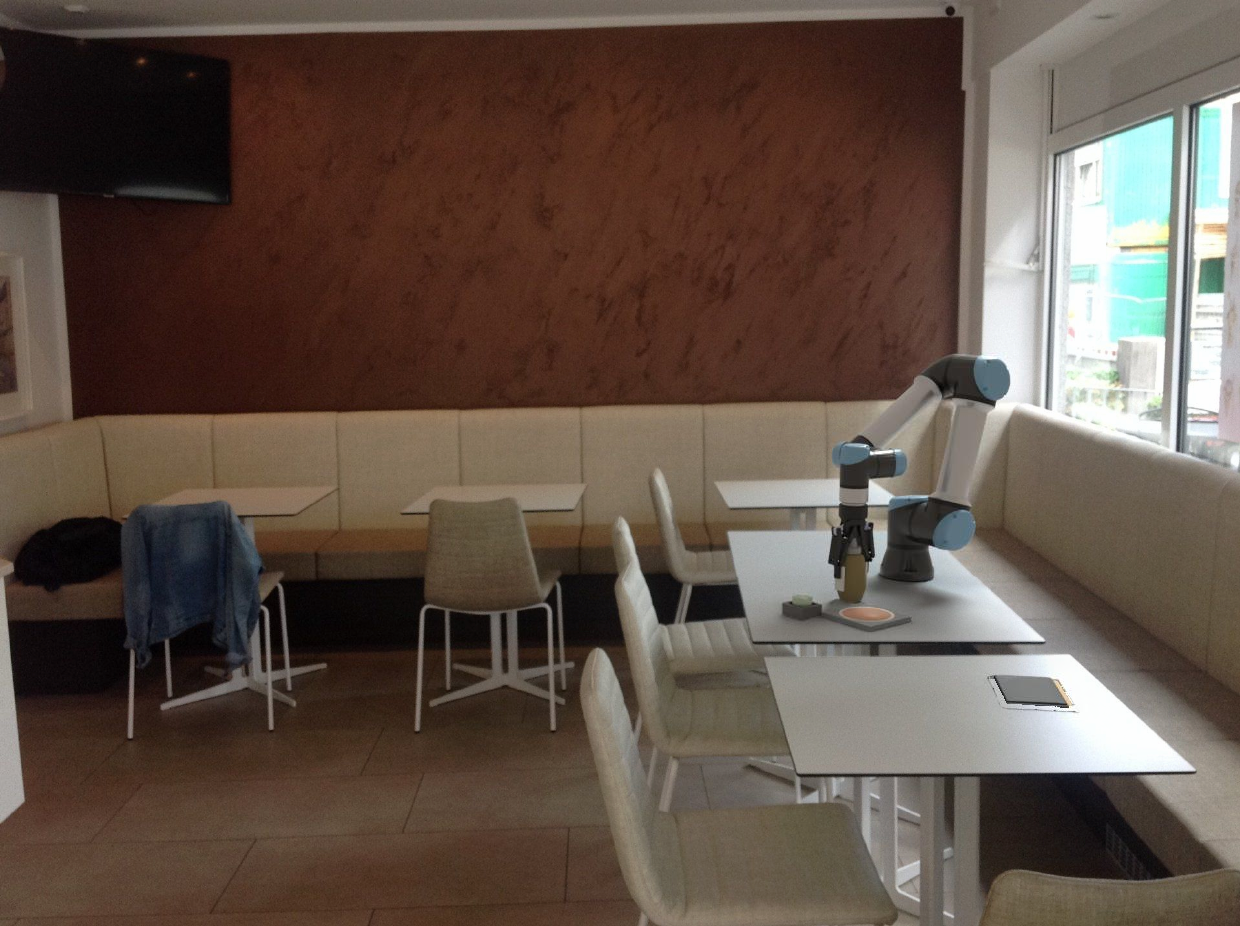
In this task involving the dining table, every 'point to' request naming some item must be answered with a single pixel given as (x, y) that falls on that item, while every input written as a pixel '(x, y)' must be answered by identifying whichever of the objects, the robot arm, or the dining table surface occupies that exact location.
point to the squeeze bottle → (853, 574)
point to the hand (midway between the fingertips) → (850, 587)
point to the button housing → (802, 611)
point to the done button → (802, 600)
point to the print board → (866, 616)
